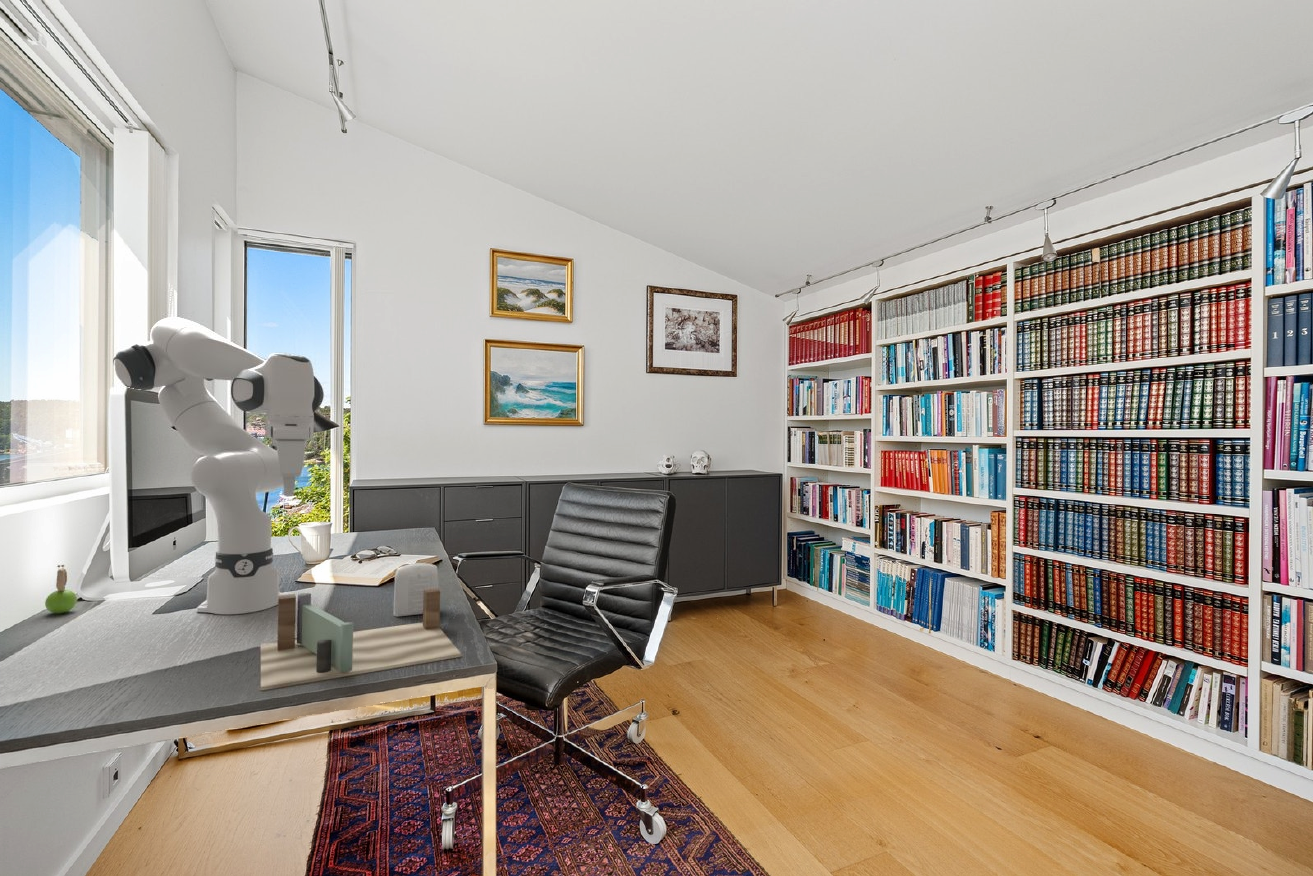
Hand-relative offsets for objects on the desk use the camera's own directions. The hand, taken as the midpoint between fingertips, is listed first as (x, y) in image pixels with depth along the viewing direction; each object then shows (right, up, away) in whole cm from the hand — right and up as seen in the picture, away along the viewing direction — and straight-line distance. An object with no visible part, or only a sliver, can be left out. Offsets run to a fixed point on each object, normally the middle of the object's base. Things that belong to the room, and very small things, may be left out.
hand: (288, 495), depth 132 cm
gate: (+13, -30, -10) cm, 34 cm away
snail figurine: (-62, -29, +14) cm, 70 cm away
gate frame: (+17, -32, -4) cm, 36 cm away
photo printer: (+18, -32, +22) cm, 43 cm away
